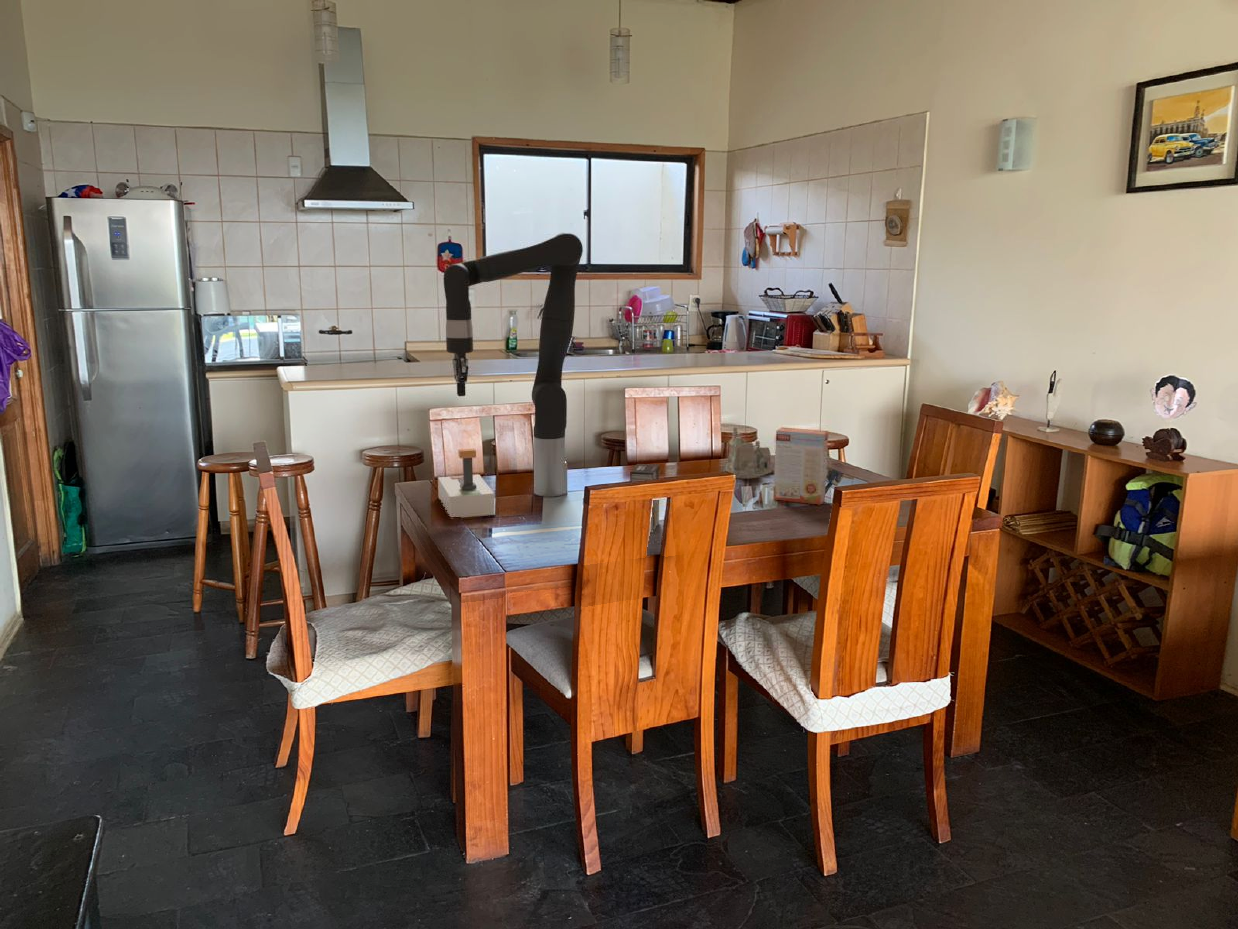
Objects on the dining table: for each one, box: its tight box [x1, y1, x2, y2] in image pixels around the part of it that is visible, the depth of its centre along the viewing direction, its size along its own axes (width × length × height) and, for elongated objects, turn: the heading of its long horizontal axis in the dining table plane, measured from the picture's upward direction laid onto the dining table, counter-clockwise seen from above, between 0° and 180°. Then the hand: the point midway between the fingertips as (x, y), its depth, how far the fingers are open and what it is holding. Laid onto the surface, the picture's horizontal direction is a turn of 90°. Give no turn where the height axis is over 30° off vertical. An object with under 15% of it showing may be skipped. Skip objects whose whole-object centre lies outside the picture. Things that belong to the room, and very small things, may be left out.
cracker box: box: [773, 426, 829, 506], centre depth 267 cm, size 14×6×21 cm, turn 65°
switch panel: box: [437, 474, 496, 518], centre depth 260 cm, size 12×22×6 cm, turn 19°
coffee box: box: [629, 463, 661, 532], centre depth 241 cm, size 9×6×16 cm
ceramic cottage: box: [724, 426, 772, 480], centre depth 300 cm, size 16×16×15 cm
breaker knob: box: [457, 448, 477, 490], centre depth 253 cm, size 4×3×11 cm
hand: (461, 395), depth 268 cm, fingers closed
